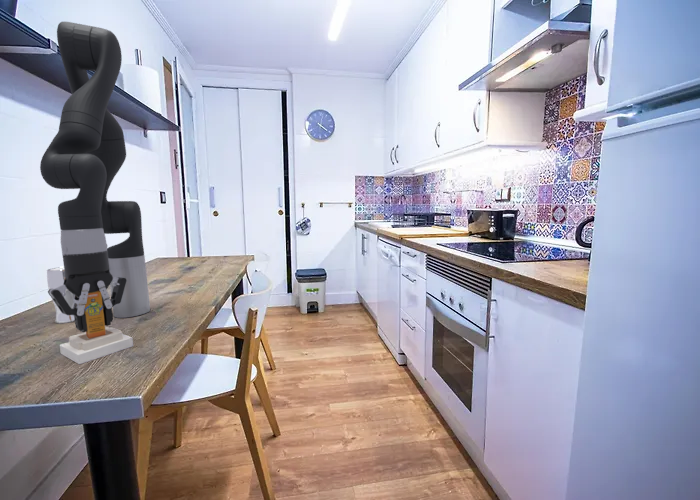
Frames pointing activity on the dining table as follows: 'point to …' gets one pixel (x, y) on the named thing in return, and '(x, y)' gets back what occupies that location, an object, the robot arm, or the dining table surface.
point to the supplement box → (94, 315)
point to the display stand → (95, 345)
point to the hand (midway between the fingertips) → (95, 327)
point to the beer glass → (57, 279)
